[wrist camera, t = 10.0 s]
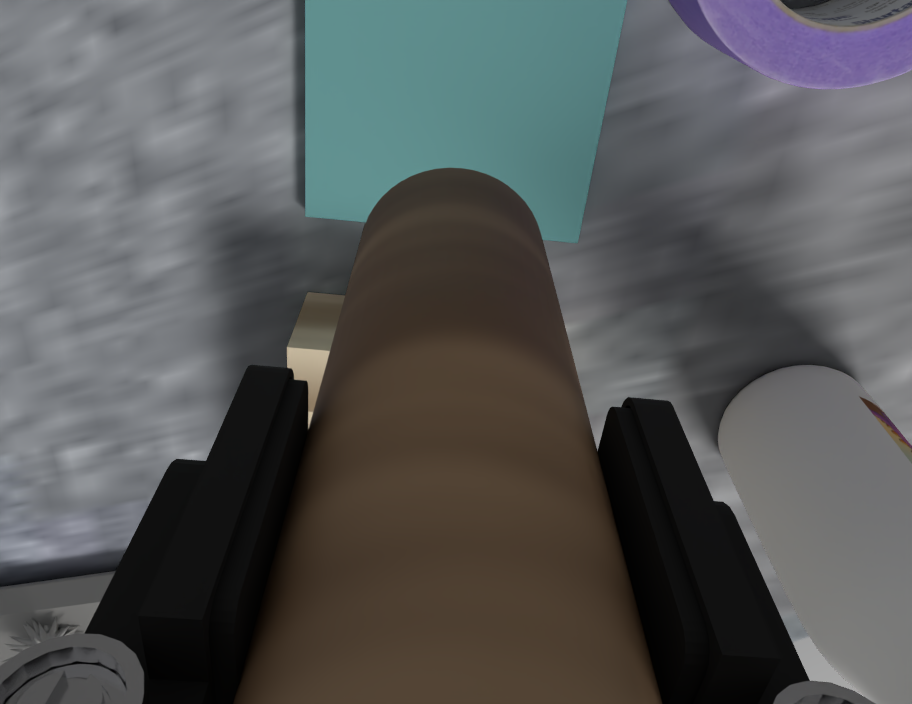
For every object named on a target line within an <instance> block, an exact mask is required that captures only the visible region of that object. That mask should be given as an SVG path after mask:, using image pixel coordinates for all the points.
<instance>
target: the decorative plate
mask: <svg viewBox="0 0 912 704" xmlns="http://www.w3.org/2000/svg"><path fill="white" fill-rule="evenodd" d="M115 572H116V571H113V572H106V573H98V574H91V575H84V576H77V577H70V578H62V579H55V580H48V581H41V582H34V583H26V584H19V585H12V586H5V587H0V666H1V665H2V664H4V663H5V662H7V661H8V660H9V659H11V658H12V657H14V656H15V655H17V654H18V653H20V652H21V651H23V650H24V649H27V648H29V647H31V646H34V645H36V644H38V643H41V642H43V641H45V640H48V639H50V638H55V637H60V636H65V635H70V634H75V633H82V634H84V633H85V631H86V629H87V627H88V625H89V623H90V621H91V619H92V617H93V615H94V613H95V611H96V609H97V607H98V605H99V603H100V601H101V599H102V597H103V595H104V594H105V592H106V590H107V588H108V586H109V584H110V582H111V580H112V578H113V576H114V574H115Z"/></svg>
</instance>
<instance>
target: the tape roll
mask: <svg viewBox="0 0 912 704" xmlns="http://www.w3.org/2000/svg"><path fill="white" fill-rule="evenodd" d="M669 2H670V3H671V5H672V6H673V8H674V9H675V11H676V12H677V13H678V15H679V16H680V17H681V19H682V20H683V21H684V22H685V24H686V25H687V26H688V27H689V28H690V29H691V30H692V31H693V32H694V33H695V34H696V35H697V36H699V37H700V38H701V39H702V40H703V41H705V42H707V43H708V44H710V45H711V46H713V47H715V48H716V49H718V50H720V51H721V52H723V53H725V54H727V55H729V56H731V57H732V58H734V59H736V60H737V61H739V62H741V63H743V64H745V65H747V66H749V67H750V68H752V69H754V70H756V71H757V72H759V73H761V74H763V75H765V76H767V77H769V78H772V79H775V80H778V81H781V82H784V83H787V84H791V85H795V86H799V87H805V88H814V89H842V88H852V87H858V86H864V85H869V84H873V83H877V82H880V81H884V80H887V79H890V78H893V77H896V76H898V75H901V74H904V73H906V72H908V71H910V70H912V0H831V1H829V2H826V3H823V4H820V5H816V6H812V7H807V8H800V9H789V8H788V7H787V6H785V5H784V4H783V3H782V2H781V1H780V0H669Z"/></svg>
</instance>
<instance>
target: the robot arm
mask: <svg viewBox="0 0 912 704" xmlns="http://www.w3.org/2000/svg"><path fill="white" fill-rule="evenodd" d="M307 434H308V382H307V381H305V380H294V373H293V370H292V368H281V367H269V366H257V365H250V366H248V368H247V369H246V372H245V374H244V376H243V378H242V381H241V383H240V385H239V387H238V390H237V392H236V394H235V397H234V399H233V401H232V403H231V406H230V408H229V410H228V412H227V415H226V417H225V419H224V421H223V424H222V426H221V428H220V431H219V433H218V435H217V437H216V440H215V442H214V444H213V446H212V449H211V451H210V453H209V456H208V458H207V460H206V461H197V460H184V459H176V460H174V461H173V462H172V463H171V464H170V466H169V467H168V469H167V470H166V472H165V474H164V476H163V478H162V480H161V482H160V484H159V486H158V488H157V490H156V492H155V494H154V496H153V498H152V500H151V502H150V504H149V506H148V508H147V510H146V512H145V514H144V516H143V518H142V520H141V522H140V524H139V526H138V528H137V530H136V532H135V534H134V536H133V538H132V540H131V542H130V544H129V546H128V548H127V550H126V552H125V554H124V556H123V558H122V560H121V562H120V564H119V566H118V568H117V570H116V572H115V574H114V576H113V578H112V580H111V582H110V584H109V586H108V588H107V590H106V592H105V594H104V595H103V597H102V599H101V601H100V603H99V605H98V607H97V609H96V611H95V613H94V615H93V617H92V619H91V621H90V623H89V625H88V627H87V629H86V631H85V633H84V634H82V633H75V634H70V635H65V636H60V637H55V638H50V639H48V640H45V641H43V642H41V643H38V644H36V645H34V646H31V647H29V648H27V649H24V650H23V651H21V652H20V653H18V654H17V655H15V656H14V657H12V658H11V659H9V660H8V661H7V662H5V663H4V664H2V665H1V666H0V704H233V702H234V699H235V695H236V691H237V689H238V685H239V682H240V678H241V675H242V671H243V667H244V664H245V660H246V656H247V653H248V649H249V645H250V642H251V638H252V634H253V631H254V627H255V623H256V620H257V616H258V612H259V609H260V605H261V602H262V598H263V594H264V591H265V587H266V583H267V580H268V576H269V572H270V569H271V565H272V561H273V558H274V554H275V550H276V547H277V543H278V539H279V536H280V532H281V529H282V525H283V521H284V518H285V514H286V510H287V507H288V503H289V499H290V496H291V492H292V488H293V485H294V481H295V477H296V474H297V470H298V467H299V463H300V459H301V456H302V452H303V448H304V445H305V441H306V437H307ZM598 456H599V460H600V464H601V468H602V471H603V475H604V479H605V483H606V487H607V491H608V495H609V499H610V502H611V506H612V510H613V514H614V518H615V522H616V526H617V529H618V533H619V537H620V541H621V545H622V549H623V553H624V557H625V560H626V564H627V568H628V572H629V576H630V580H631V584H632V587H633V591H634V595H635V599H636V603H637V607H638V611H639V614H640V618H641V622H642V626H643V630H644V634H645V638H646V642H647V645H648V649H649V653H650V657H651V661H652V665H653V669H654V672H655V676H656V680H657V684H658V688H659V692H660V696H661V699H662V703H663V704H876V703H874V702H872V701H870V700H869V699H867V698H865V697H863V696H862V695H860V694H858V693H857V692H855V691H853V690H850V689H847V688H844V687H841V686H838V685H836V684H833V683H829V682H818V681H810V680H809V678H808V676H807V674H806V672H805V669H804V667H803V665H802V663H801V661H800V658H799V656H798V654H797V652H796V650H795V648H794V645H793V643H792V641H791V638H790V636H789V634H788V632H787V630H786V627H785V625H784V623H783V621H782V619H781V616H780V614H779V612H778V610H777V608H776V605H775V603H774V601H773V599H772V596H771V594H770V592H769V590H768V588H767V585H766V583H765V581H764V579H763V577H762V574H761V572H760V570H759V568H758V566H757V563H756V561H755V559H754V557H753V555H752V552H751V550H750V548H749V546H748V543H747V541H746V539H745V537H744V535H743V532H742V530H741V528H740V526H739V524H738V521H737V519H736V517H735V515H734V513H733V512H732V510H731V508H730V507H729V506H728V505H727V504H725V503H724V502H718V501H713V498H712V496H711V494H710V491H709V489H708V487H707V484H706V482H705V480H704V477H703V475H702V473H701V470H700V468H699V466H698V463H697V461H696V459H695V456H694V454H693V452H692V449H691V447H690V445H689V442H688V440H687V438H686V435H685V433H684V431H683V428H682V426H681V424H680V421H679V419H678V417H677V414H676V412H675V410H674V407H673V406H672V404H671V402H669V401H665V400H653V399H641V398H630V397H628V398H627V399H625V401H624V402H623V405H622V407H611V408H610V409H609V411H608V414H607V417H606V421H605V425H604V429H603V433H602V437H601V440H600V444H599V448H598Z"/></svg>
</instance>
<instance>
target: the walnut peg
mask: <svg viewBox="0 0 912 704" xmlns="http://www.w3.org/2000/svg"><path fill="white" fill-rule="evenodd" d="M233 704H663V703H662V699H661V696H660V692H659V688H658V684H657V680H656V676H655V672H654V669H653V665H652V661H651V657H650V653H649V649H648V645H647V642H646V638H645V634H644V630H643V626H642V622H641V618H640V614H639V611H638V607H637V603H636V599H635V595H634V591H633V587H632V584H631V580H630V576H629V572H628V568H627V564H626V560H625V557H624V553H623V549H622V545H621V541H620V537H619V533H618V529H617V526H616V522H615V518H614V514H613V510H612V506H611V502H610V499H609V495H608V491H607V487H606V483H605V479H604V475H603V471H602V468H601V464H600V460H599V456H598V452H597V448H596V444H595V441H594V437H593V433H592V429H591V425H590V421H589V417H588V414H587V410H586V406H585V402H584V398H583V394H582V390H581V386H580V383H579V379H578V375H577V371H576V367H575V363H574V359H573V356H572V352H571V348H570V344H569V340H568V336H567V332H566V329H565V325H564V321H563V317H562V313H561V309H560V305H559V301H558V298H557V294H556V290H555V286H554V282H553V278H552V274H551V271H550V267H549V263H548V259H547V255H546V251H545V247H544V244H543V240H542V236H541V232H540V229H539V226H538V223H537V221H536V219H535V217H534V215H533V213H532V211H531V210H530V208H529V207H528V205H527V204H526V202H525V201H524V200H523V199H522V198H521V197H520V196H519V195H518V194H517V193H516V192H515V191H514V190H513V189H511V188H510V187H509V186H508V185H506V184H505V183H503V182H501V181H500V180H498V179H496V178H494V177H492V176H490V175H488V174H485V173H482V172H478V171H475V170H470V169H464V168H438V169H433V170H428V171H424V172H421V173H418V174H415V175H413V176H411V177H409V178H407V179H405V180H403V181H401V182H400V183H398V184H397V185H395V186H394V187H392V188H391V189H390V190H389V191H388V192H387V193H386V194H385V195H383V196H382V198H381V199H380V200H379V201H378V202H377V204H376V205H375V206H374V208H373V210H372V211H371V213H370V214H369V216H368V219H367V221H366V223H365V226H364V229H363V232H362V236H361V240H360V243H359V247H358V251H357V254H356V258H355V262H354V265H353V269H352V273H351V276H350V280H349V283H348V287H347V291H346V294H345V298H344V302H343V305H342V309H341V313H340V316H339V320H338V324H337V327H336V331H335V334H334V338H333V342H332V345H331V349H330V353H329V356H328V360H327V364H326V367H325V371H324V375H323V378H322V382H321V385H320V389H319V393H318V396H317V400H316V404H315V407H314V411H313V415H312V418H311V422H310V426H309V429H308V434H307V437H306V441H305V445H304V448H303V452H302V456H301V459H300V463H299V467H298V470H297V474H296V477H295V481H294V485H293V488H292V492H291V496H290V499H289V503H288V507H287V510H286V514H285V518H284V521H283V525H282V529H281V532H280V536H279V539H278V543H277V547H276V550H275V554H274V558H273V561H272V565H271V569H270V572H269V576H268V580H267V583H266V587H265V591H264V594H263V598H262V602H261V605H260V609H259V612H258V616H257V620H256V623H255V627H254V631H253V634H252V638H251V642H250V645H249V649H248V653H247V656H246V660H245V664H244V667H243V671H242V675H241V678H240V682H239V685H238V689H237V691H236V695H235V699H234V702H233Z"/></svg>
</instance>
